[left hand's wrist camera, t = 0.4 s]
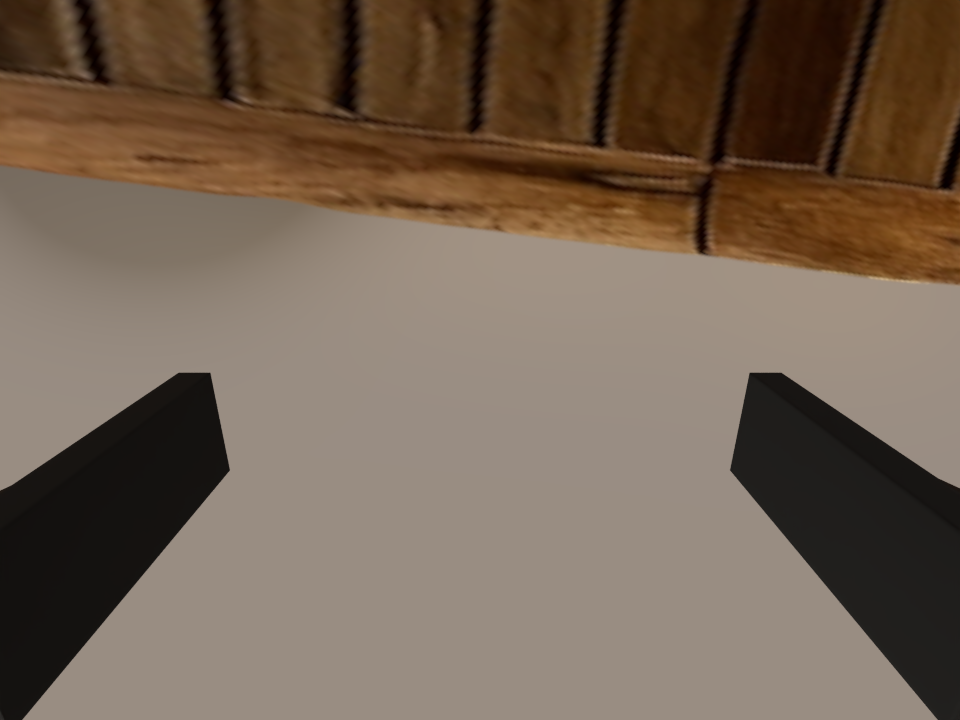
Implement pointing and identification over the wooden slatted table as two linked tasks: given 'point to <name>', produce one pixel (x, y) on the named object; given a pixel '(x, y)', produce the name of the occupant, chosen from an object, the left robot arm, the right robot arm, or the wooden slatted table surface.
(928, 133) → the wooden slatted table surface
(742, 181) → the wooden slatted table surface
